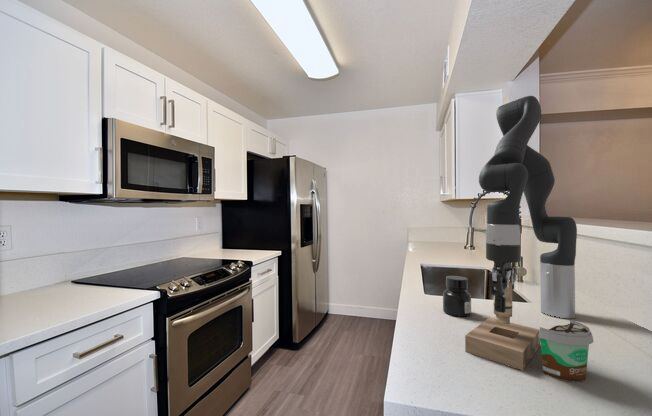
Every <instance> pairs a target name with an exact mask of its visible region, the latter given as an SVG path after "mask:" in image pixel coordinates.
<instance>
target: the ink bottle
mask: <svg viewBox="0 0 652 416" xmlns="http://www.w3.org/2000/svg"><path fill="white" fill-rule="evenodd" d="M468 281H469V279H468V277H465V276H461V275H460V276H459V275H447V276H446V277H445V286H446V289H444V290H443V293H442V310H443V312H444V313H445V314H447V315H450V316H454V317H463V318H464V317H469V316H471V315H472V295H471V293H469V291H468V286H469V285H468V284H469V282H468Z"/></svg>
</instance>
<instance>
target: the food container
mask: <svg viewBox="0 0 652 416" xmlns="http://www.w3.org/2000/svg"><path fill="white" fill-rule="evenodd" d="M539 329H540V330H539V335H538V337H540V340H541V345H540V350H541V351H540V352H541V363H542V364H541V368H542V374H543V373H544V374H543V375H545V376H548V375H549V376H548V377H550V376H551V378H554V379H557V380H560V381H561V380H562V381H565V380H566V382H572V381H575V382H574V383H580V382H584V381H586V380H587V372H588V371H587V370H588V359H589V350H590V349H589V348H590V345H591V344H593V343H594V337H593V333H592V332H591V329H590V327H588V326H587V325H585V324H583V323H581V322H579V321H576V320H573V319H570V320H569V323H567V324H565V325H559V324H558V325H554V326H553V327H551V328H549V329H548V328H545V327H541V326H539Z"/></svg>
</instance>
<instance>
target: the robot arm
mask: <svg viewBox="0 0 652 416" xmlns="http://www.w3.org/2000/svg"><path fill="white" fill-rule="evenodd" d="M495 113H496V120H497V123H498V126H499V129H500V132H501V134H502V137H501V139H500V140H499V141H498V143H497V145H496V147H495V151H494V154H493V156H491V158H490V159H489V160H488V161H487V162H486V163H485V164H484V166H483V167H482V169H481V170H480V172H479V176H478V184H479V186H480V188H481V189H482V190H483V191H485V192H487V193H502V192H509V193H508V195H507V196H506V197H505V198H503V199H499V200H495V201H491V202H489V203H488V204H487V207H486V221H487V222H486V223H487V224H486V230H485V258H486V259H487V260H488V261H492V262H493V267H491V271H490V272H488V280H489V287H490V295H492V296H493V297H494V296H495V311H497V312H501V313H504V312H505V311H506V302H505V297H506V289H507V288H508V287H509V283H512V291H514V290H515V281H516V280H515V278H516V270H517V269H516V267H514V266H513V265H512V263H513V264H518V263H520V262H521V250H522V249H521V230H520V207H521V201H522V197H523V195H524V197H525V199H526V203H527V207H528V212H529V216H530V220H531V224H532V229H533V230H532V231H533V233H534V237H535V238H536V239H537V240H538V241H539V242H541V243H549V244H557V247H556V249H554V250H553V251H548V252H544V253H541V254H540V256H539V259H540V260H539V262H540V263H539V265H540V267H539V268H540V271H539V272H540V274H539V275H540V276H539V277H540V280H539V282H540V312H541V313H542V312H543V313H542V314H544V313H545V315H547V314H548V315H547V316H550V315H551V316H550V317H554V316H556V317H555V318H559V317H560V318H561V319H574V318H576V274H575V273H576V272H575V271H576V270H575V268H576V267H575V266H576V265H575V264H576V262H575V261H576V256H577V239H578V237H577V236H578V235H577V234H578V226H577V223H576V220H575V219H574V218H573V217H570V216H549V215H548V213H547V210H546V203H547V201H548V199H549V196H550V194H551V193H552V190H553V188H554V185H555V180H556V179H555V176H554V172H553V169H552V166H551V163H550V161H549V160H548V159H547V158H546V157H545V156H544V155H542V154H541V153H540V152H539V151H537V150H535V149H534V148H532V147H531V146H529V145H528V143H529V142H530V140H531V138H532V136H533V135H534V133H535V131H536V129H537V128H538V126H539V124H540V121H541V119H542V108H541V105H540V102H539V100H538V99H537V97H536V96H534V95H527V96H523V97H521V98H518V99H515V100H512V101H510V102H507V103H504V104H502V105H499V106H498V107H497V109H496V111H495ZM502 283H505V284H502ZM497 288H499V291H497Z"/></svg>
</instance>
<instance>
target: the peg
mask: <svg viewBox="0 0 652 416" xmlns="http://www.w3.org/2000/svg"><path fill="white" fill-rule="evenodd" d="M502 284H505V283H502ZM497 291H499V288H497ZM505 302H506V311H505V312H504V313H501V312H497V311H495V296H494V295H493V314H494V315H495V319H496V322H497V323H500V324H505V325H509V324H510V322H511V318H512V317H513V290H512V283H509V287H508V288H507V289H506V297H505Z"/></svg>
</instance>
